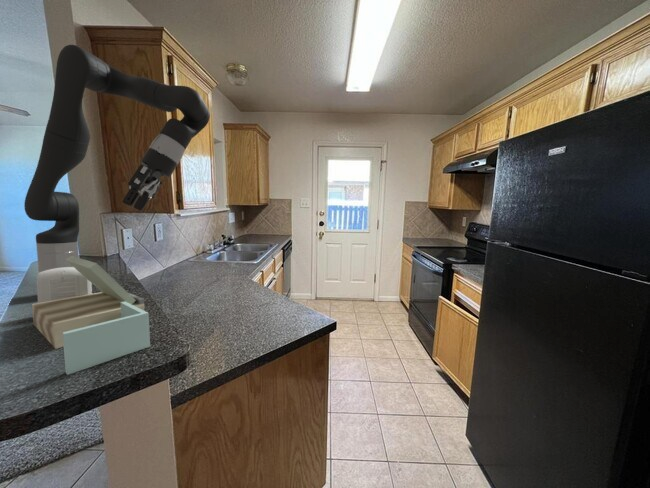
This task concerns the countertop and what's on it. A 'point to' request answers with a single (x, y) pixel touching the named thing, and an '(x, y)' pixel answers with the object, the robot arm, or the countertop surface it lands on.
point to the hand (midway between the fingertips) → (132, 207)
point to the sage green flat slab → (100, 279)
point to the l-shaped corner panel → (106, 339)
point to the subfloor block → (76, 314)
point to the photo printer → (61, 284)
